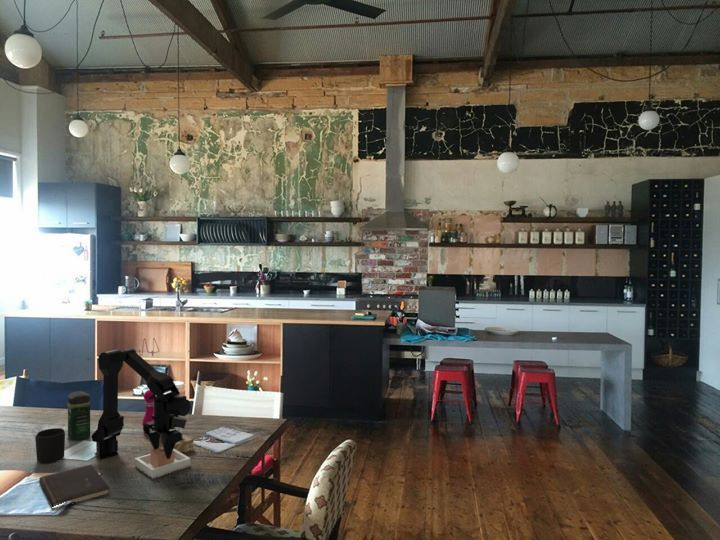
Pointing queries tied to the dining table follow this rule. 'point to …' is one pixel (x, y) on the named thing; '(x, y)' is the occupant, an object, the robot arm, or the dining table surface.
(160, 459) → the rust block
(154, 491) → the dining table surface
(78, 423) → the coffee jar
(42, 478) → the hardcover book
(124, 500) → the dining table surface
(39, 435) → the pen holder
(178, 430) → the cylinder
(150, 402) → the pepper mill
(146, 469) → the tray
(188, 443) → the oak block
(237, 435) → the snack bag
